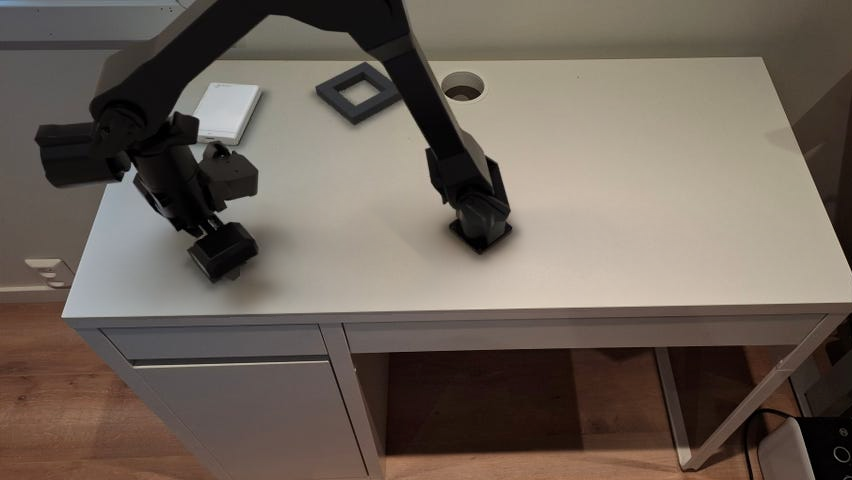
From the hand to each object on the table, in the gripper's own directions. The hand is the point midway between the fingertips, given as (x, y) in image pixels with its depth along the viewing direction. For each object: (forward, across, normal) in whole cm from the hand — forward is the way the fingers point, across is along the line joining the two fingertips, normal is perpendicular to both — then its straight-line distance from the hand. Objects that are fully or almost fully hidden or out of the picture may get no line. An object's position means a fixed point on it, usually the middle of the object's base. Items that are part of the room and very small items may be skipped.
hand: (217, 256), depth 78 cm
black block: (+1, 0, 0) cm, 1 cm away
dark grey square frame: (+1, +15, -34) cm, 37 cm away
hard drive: (+1, +25, -15) cm, 29 cm away
